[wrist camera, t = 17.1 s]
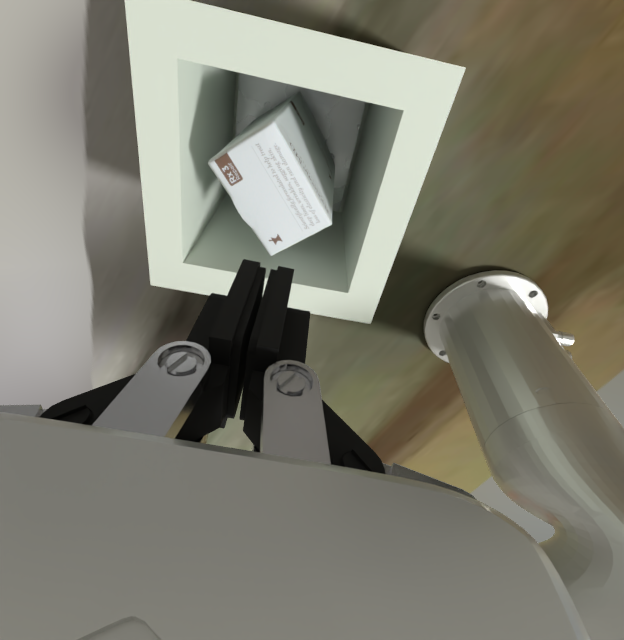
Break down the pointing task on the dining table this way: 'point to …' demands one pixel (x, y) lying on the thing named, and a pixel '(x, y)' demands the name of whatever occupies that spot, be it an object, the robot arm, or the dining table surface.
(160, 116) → the holder
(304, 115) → the skincare box
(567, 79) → the dining table surface
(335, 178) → the thin grey square tile
